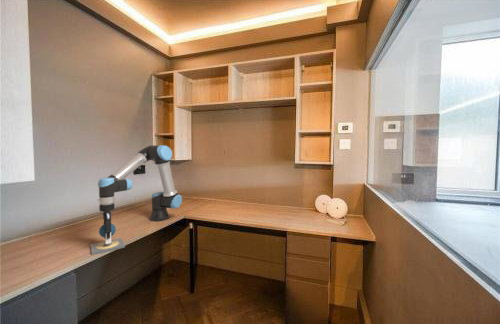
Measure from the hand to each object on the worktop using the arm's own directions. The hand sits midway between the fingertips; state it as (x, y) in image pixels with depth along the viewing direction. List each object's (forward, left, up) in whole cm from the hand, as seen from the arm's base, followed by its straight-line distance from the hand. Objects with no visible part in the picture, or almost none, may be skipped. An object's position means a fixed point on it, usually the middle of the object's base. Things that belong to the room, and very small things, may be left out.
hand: (107, 240), depth 129 cm
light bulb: (0, 0, -2) cm, 2 cm away
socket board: (0, 0, -4) cm, 4 cm away
